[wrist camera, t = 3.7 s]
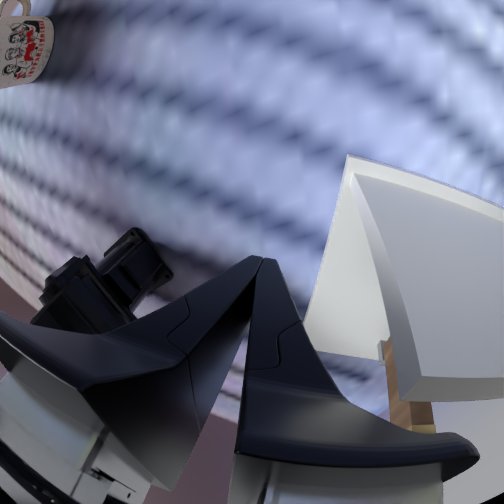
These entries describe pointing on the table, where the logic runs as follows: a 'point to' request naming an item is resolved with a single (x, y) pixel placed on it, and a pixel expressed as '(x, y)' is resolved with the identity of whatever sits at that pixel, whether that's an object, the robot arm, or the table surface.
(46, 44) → the teacup with lid
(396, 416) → the lever
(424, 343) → the gauge base
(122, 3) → the table surface
